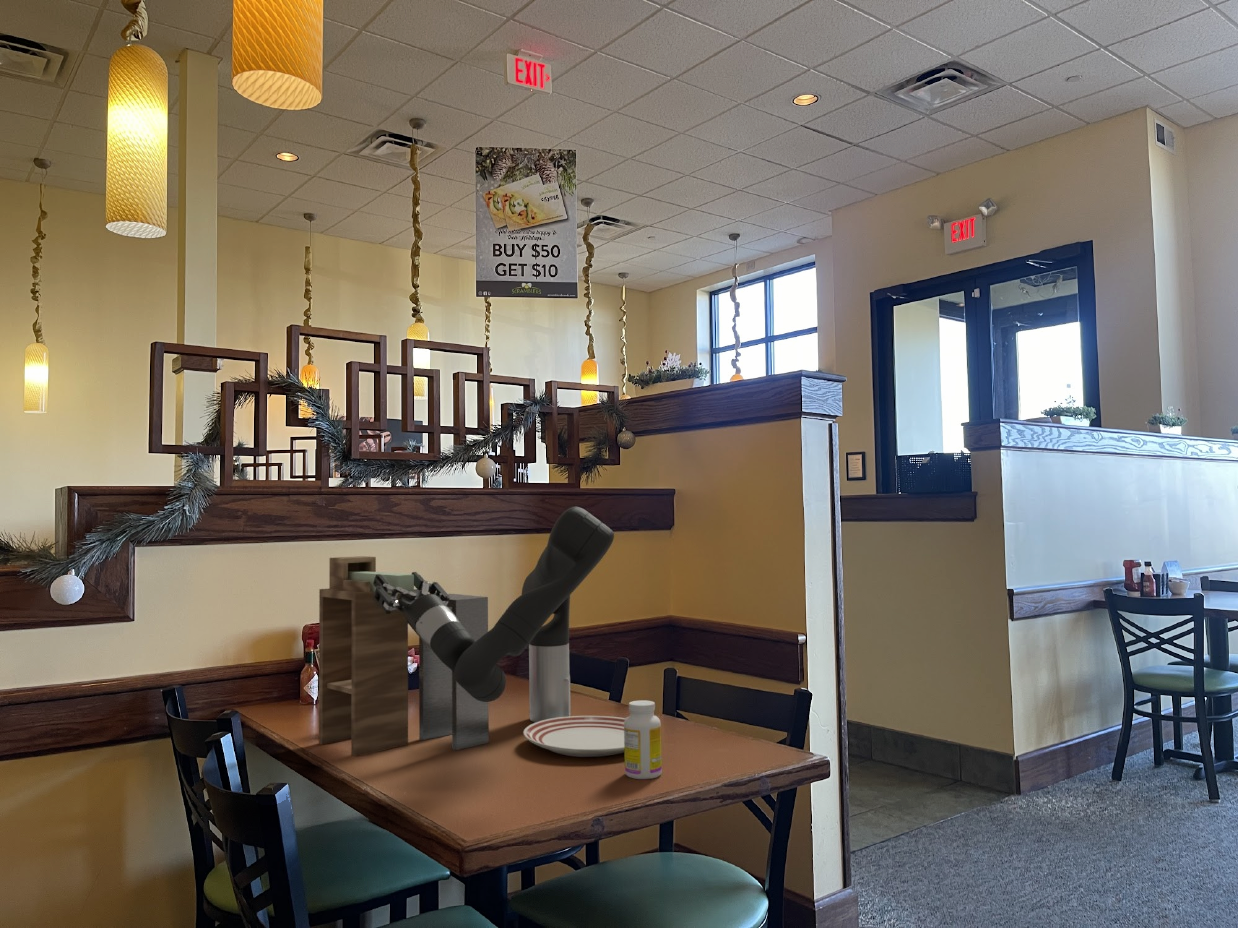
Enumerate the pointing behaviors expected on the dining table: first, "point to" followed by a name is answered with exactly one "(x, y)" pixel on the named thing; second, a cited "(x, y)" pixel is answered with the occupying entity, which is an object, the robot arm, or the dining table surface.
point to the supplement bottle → (642, 741)
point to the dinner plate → (579, 735)
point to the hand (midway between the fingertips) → (394, 576)
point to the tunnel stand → (361, 663)
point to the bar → (392, 578)
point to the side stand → (453, 685)
